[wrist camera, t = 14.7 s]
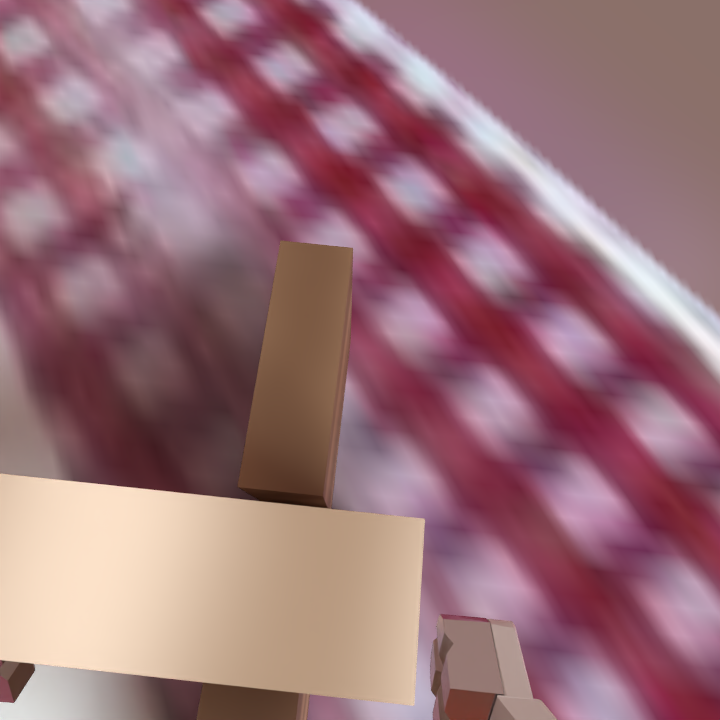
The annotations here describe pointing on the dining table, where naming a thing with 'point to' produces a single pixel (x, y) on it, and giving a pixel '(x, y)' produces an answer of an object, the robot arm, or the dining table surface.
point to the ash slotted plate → (210, 589)
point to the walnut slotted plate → (294, 422)
